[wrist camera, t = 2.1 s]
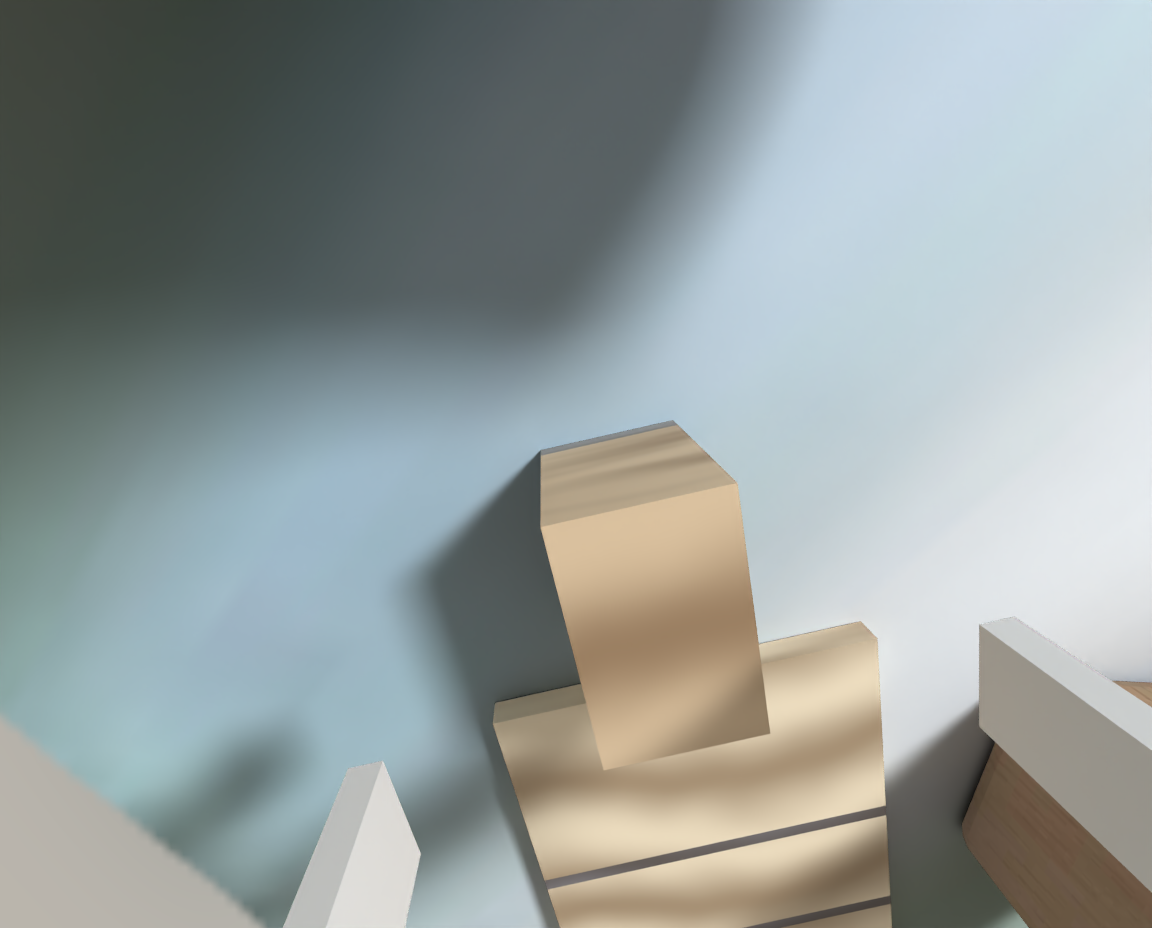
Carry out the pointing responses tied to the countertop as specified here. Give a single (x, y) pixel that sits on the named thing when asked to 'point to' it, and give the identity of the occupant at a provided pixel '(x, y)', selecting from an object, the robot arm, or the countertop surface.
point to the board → (718, 805)
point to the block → (1050, 851)
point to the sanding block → (654, 592)
